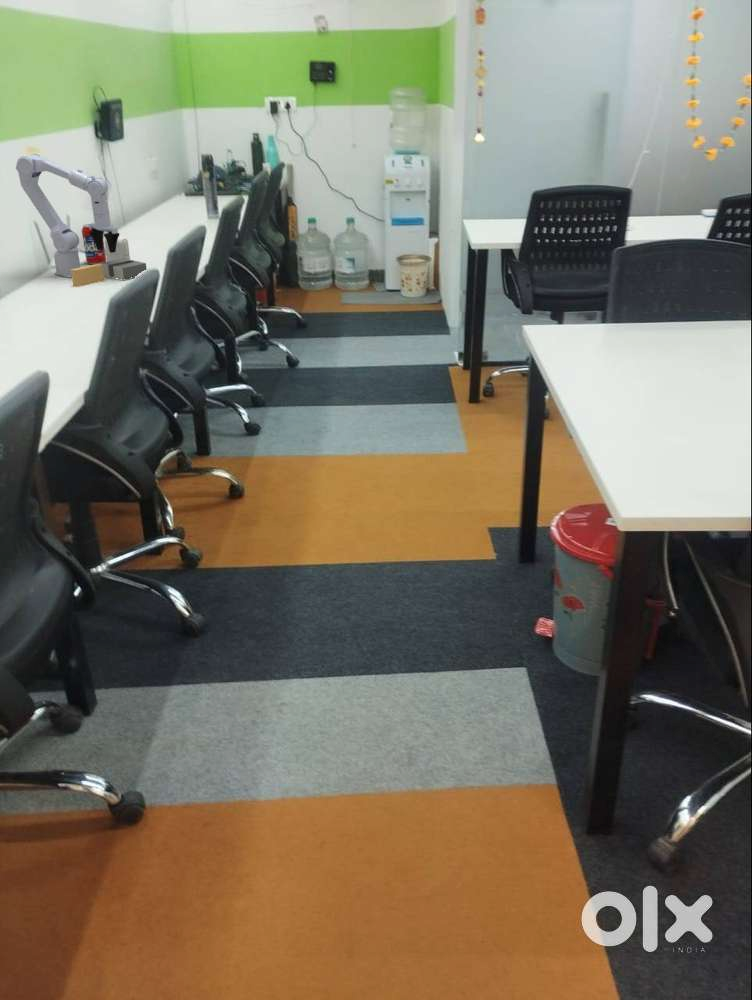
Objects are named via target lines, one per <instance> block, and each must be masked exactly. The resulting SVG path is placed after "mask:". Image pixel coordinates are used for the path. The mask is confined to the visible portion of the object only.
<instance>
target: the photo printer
mask: <svg viewBox="0 0 752 1000" xmlns="http://www.w3.org/2000/svg"><path fill="white" fill-rule="evenodd" d="M104 246H105V253H106V262H108V261H113V260H118V259H123V258H125V259H129V260H131V256H130V249H129V248H130V247H129V241H128V239H127V238H125V237H123V236H121V235H119V237H118V240H117V244H116V252H113V253H110V251H109V247H108V243H107V240H106V238H105V237H104Z"/></svg>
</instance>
